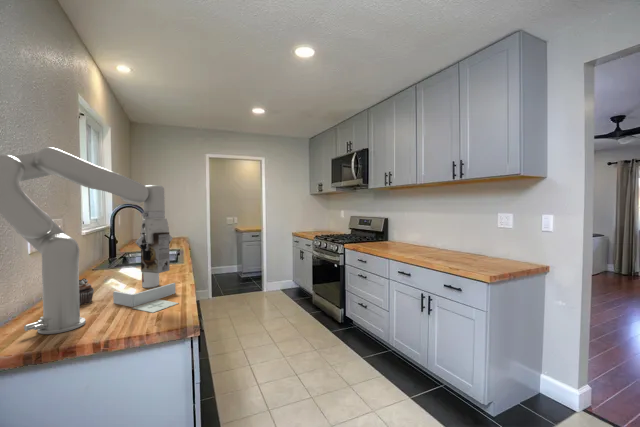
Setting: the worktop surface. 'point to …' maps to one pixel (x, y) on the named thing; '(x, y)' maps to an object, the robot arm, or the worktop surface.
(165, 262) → the coffee box
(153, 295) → the grey l-shaped block
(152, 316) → the worktop surface
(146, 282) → the milk bottle
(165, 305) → the pad
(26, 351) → the worktop surface
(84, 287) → the cupcake
